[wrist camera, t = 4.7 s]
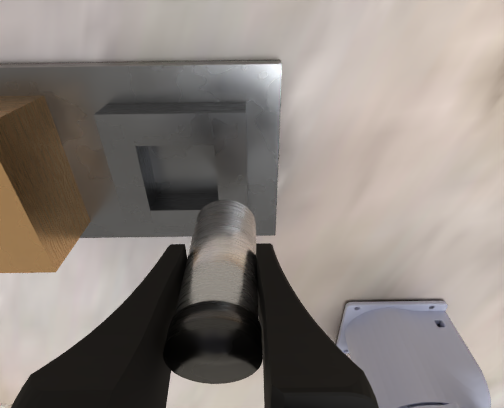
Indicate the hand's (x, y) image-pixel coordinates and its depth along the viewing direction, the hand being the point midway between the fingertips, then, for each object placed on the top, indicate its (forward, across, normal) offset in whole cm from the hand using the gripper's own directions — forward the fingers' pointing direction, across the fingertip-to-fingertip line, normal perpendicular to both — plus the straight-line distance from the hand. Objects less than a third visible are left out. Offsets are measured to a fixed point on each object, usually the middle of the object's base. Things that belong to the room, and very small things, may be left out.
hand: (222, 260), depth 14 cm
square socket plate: (+10, +7, 0) cm, 12 cm away
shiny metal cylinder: (+2, 0, 0) cm, 2 cm away
